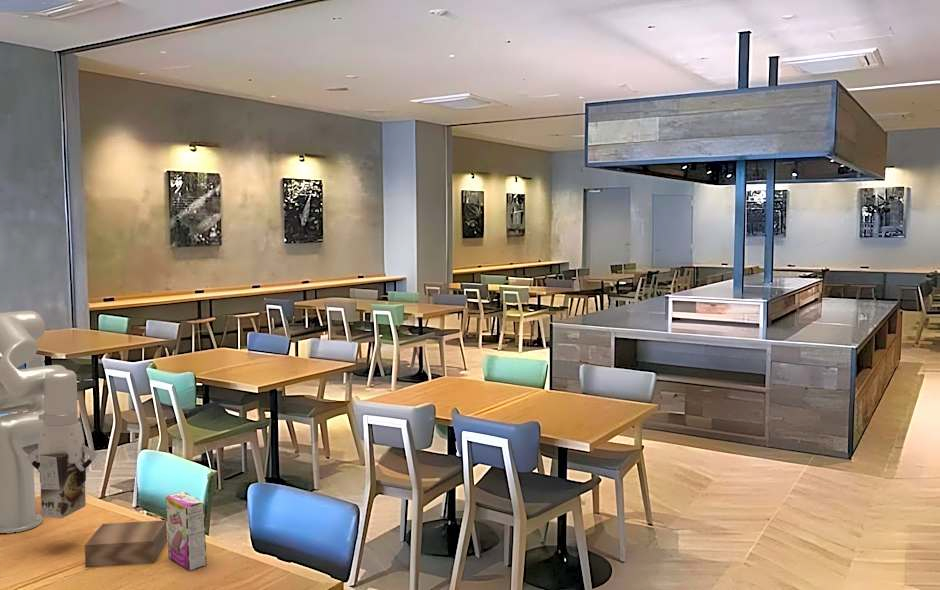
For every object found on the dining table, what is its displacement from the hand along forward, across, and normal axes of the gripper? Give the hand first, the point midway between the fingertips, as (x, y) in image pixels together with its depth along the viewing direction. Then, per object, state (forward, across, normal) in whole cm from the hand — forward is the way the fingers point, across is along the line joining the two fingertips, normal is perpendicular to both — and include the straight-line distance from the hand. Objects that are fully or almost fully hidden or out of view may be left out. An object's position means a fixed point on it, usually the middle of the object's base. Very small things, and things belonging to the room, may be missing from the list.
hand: (63, 484), depth 198 cm
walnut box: (+17, +17, -6) cm, 25 cm away
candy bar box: (+16, +33, -14) cm, 39 cm away
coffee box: (+7, 0, 0) cm, 7 cm away
